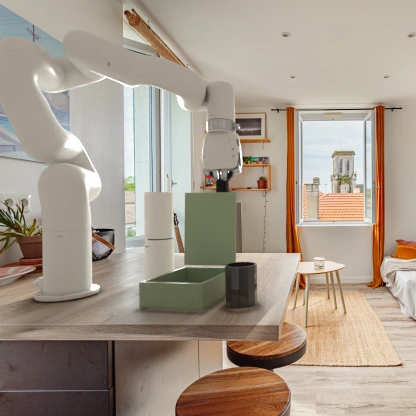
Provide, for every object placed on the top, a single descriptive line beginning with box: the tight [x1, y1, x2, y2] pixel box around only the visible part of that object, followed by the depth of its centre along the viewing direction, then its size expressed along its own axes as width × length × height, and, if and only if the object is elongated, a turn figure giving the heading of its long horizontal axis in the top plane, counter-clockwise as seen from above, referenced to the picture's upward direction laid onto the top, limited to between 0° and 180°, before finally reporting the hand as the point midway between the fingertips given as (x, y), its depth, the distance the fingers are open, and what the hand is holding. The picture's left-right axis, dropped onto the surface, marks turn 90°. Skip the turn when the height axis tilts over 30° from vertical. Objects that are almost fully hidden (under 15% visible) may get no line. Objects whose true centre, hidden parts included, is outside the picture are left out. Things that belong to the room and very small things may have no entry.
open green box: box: [138, 266, 225, 311], centre depth 74 cm, size 18×14×6 cm
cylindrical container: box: [143, 191, 175, 281], centre depth 88 cm, size 7×7×25 cm
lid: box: [183, 191, 237, 267], centre depth 83 cm, size 18×14×1 cm
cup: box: [224, 261, 258, 310], centre depth 68 cm, size 6×6×9 cm
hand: (222, 195), depth 90 cm, fingers closed
